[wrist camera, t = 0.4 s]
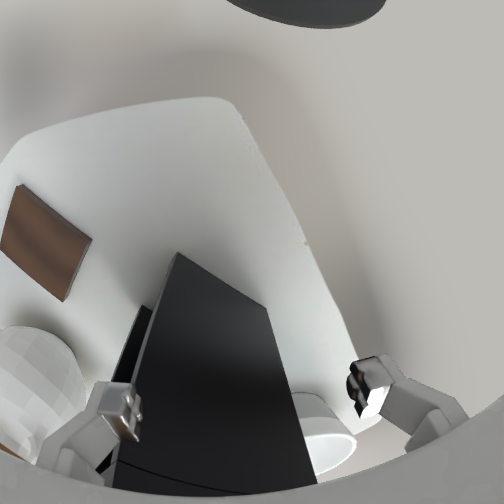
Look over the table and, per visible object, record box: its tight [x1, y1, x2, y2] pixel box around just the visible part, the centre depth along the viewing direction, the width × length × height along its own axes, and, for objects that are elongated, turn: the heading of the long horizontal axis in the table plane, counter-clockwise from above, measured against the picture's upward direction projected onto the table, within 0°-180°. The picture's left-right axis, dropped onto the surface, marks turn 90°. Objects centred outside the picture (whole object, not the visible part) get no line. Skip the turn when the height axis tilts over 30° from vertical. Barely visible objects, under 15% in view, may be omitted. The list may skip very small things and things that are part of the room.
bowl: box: [291, 393, 357, 476], centre depth 39 cm, size 19×19×11 cm
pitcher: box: [0, 326, 86, 465], centre depth 22 cm, size 19×18×25 cm
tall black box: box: [95, 252, 318, 497], centre depth 22 cm, size 10×13×26 cm
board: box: [0, 184, 92, 302], centre depth 27 cm, size 10×13×2 cm
